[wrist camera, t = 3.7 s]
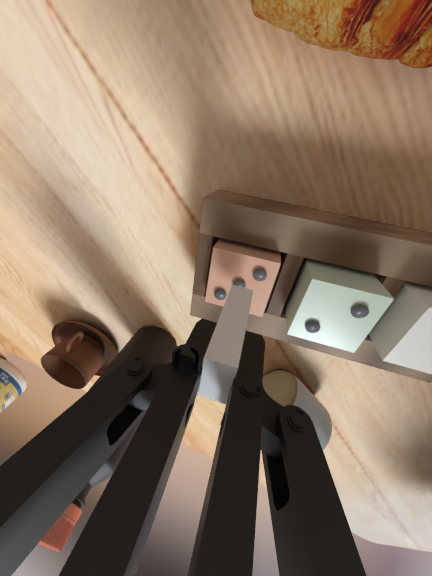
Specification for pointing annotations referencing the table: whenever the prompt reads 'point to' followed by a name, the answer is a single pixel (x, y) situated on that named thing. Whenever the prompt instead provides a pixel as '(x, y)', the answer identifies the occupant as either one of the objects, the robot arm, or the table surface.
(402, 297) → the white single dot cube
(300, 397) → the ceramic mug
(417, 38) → the croissant
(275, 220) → the wooden tile tray
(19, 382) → the supplement tub
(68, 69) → the table surface
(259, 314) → the three pip tile
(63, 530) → the bottle
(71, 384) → the cup and saucer
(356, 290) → the two pip tile
